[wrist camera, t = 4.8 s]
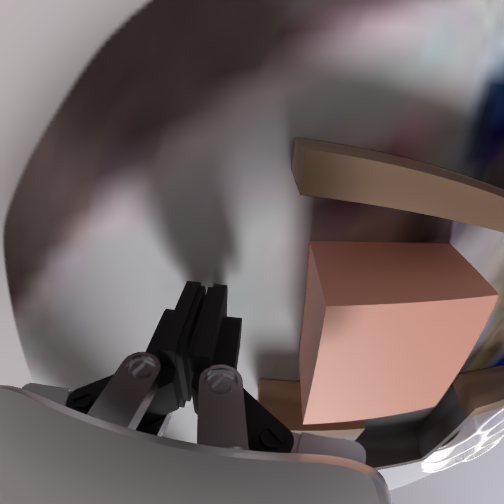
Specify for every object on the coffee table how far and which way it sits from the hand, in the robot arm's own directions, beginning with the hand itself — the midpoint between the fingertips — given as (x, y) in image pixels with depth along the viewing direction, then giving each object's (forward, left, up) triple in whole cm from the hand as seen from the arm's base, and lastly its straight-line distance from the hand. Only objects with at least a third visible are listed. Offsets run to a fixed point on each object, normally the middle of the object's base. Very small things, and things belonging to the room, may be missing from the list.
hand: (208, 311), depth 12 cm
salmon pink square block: (0, -8, -2) cm, 8 cm away
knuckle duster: (-17, -29, -2) cm, 34 cm away
